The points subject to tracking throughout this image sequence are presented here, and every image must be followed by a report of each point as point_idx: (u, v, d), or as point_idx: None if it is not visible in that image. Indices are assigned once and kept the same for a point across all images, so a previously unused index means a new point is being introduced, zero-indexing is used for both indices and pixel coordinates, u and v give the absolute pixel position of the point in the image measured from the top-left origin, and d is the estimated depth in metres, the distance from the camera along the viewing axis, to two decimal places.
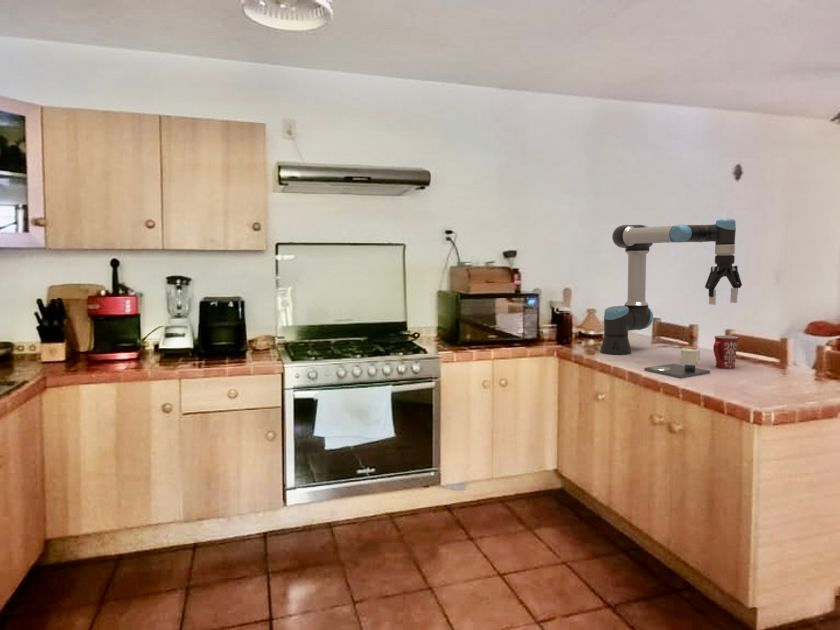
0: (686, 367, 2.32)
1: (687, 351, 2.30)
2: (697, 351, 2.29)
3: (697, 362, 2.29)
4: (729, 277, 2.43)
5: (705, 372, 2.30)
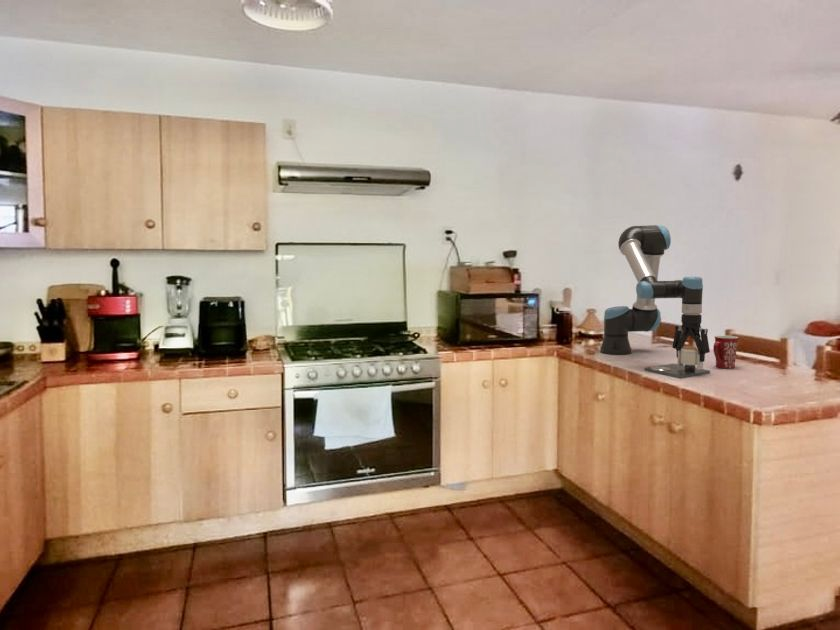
0: (686, 367, 2.32)
1: (687, 351, 2.30)
2: (697, 351, 2.29)
3: None
4: None
5: (705, 372, 2.30)
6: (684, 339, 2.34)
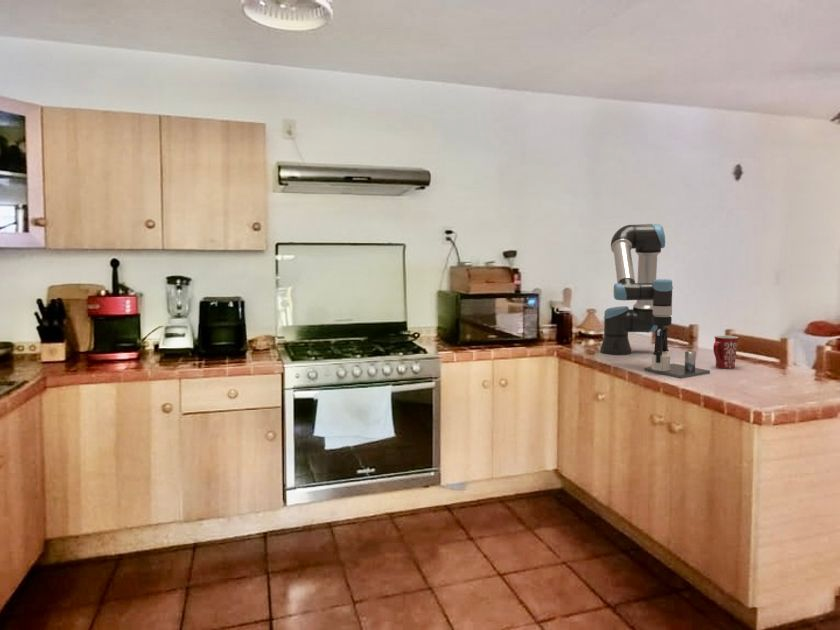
0: (686, 367, 2.32)
1: (652, 355, 2.37)
2: None
3: None
4: None
5: (705, 372, 2.30)
6: (662, 340, 2.38)
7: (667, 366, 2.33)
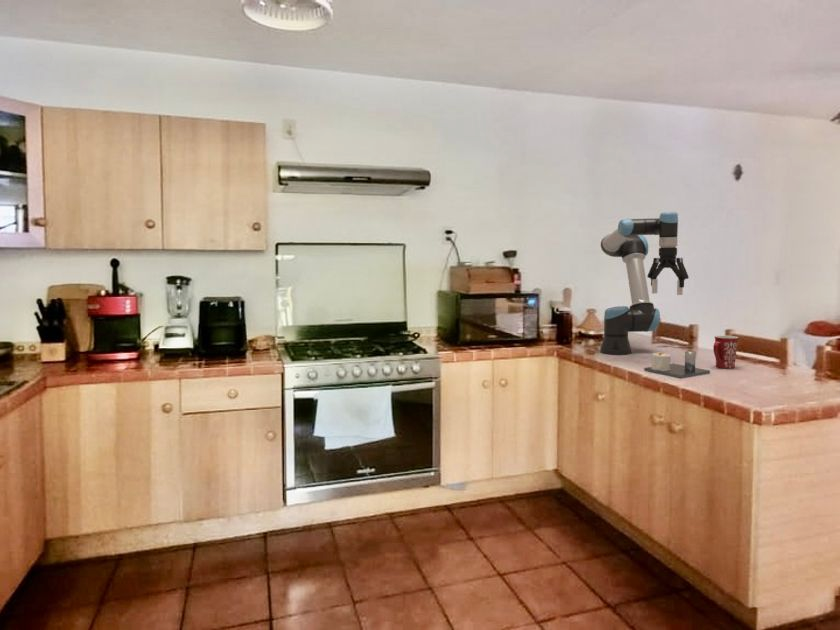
0: (686, 367, 2.32)
1: (652, 355, 2.37)
2: (658, 356, 2.33)
3: None
4: None
5: (705, 372, 2.30)
6: (659, 270, 2.54)
7: (667, 366, 2.33)
